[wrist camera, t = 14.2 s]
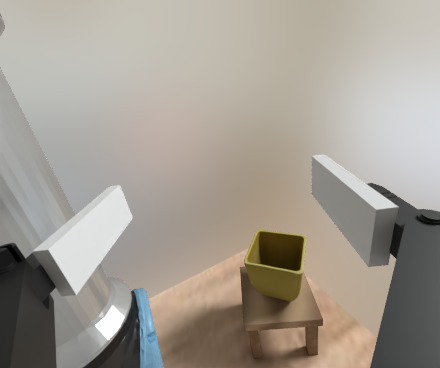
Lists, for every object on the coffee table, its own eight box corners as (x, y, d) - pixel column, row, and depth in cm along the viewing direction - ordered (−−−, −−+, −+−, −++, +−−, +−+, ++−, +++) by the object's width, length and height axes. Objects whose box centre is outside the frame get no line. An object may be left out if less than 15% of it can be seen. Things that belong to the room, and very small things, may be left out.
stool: (251, 361, 38) (243, 325, 34) (245, 300, 49) (240, 267, 45) (321, 357, 37) (322, 319, 33) (300, 295, 48) (299, 261, 44)
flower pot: (307, 273, 41) (307, 234, 37) (303, 316, 34) (302, 273, 30) (261, 264, 45) (256, 229, 41) (249, 302, 37) (242, 262, 34)
